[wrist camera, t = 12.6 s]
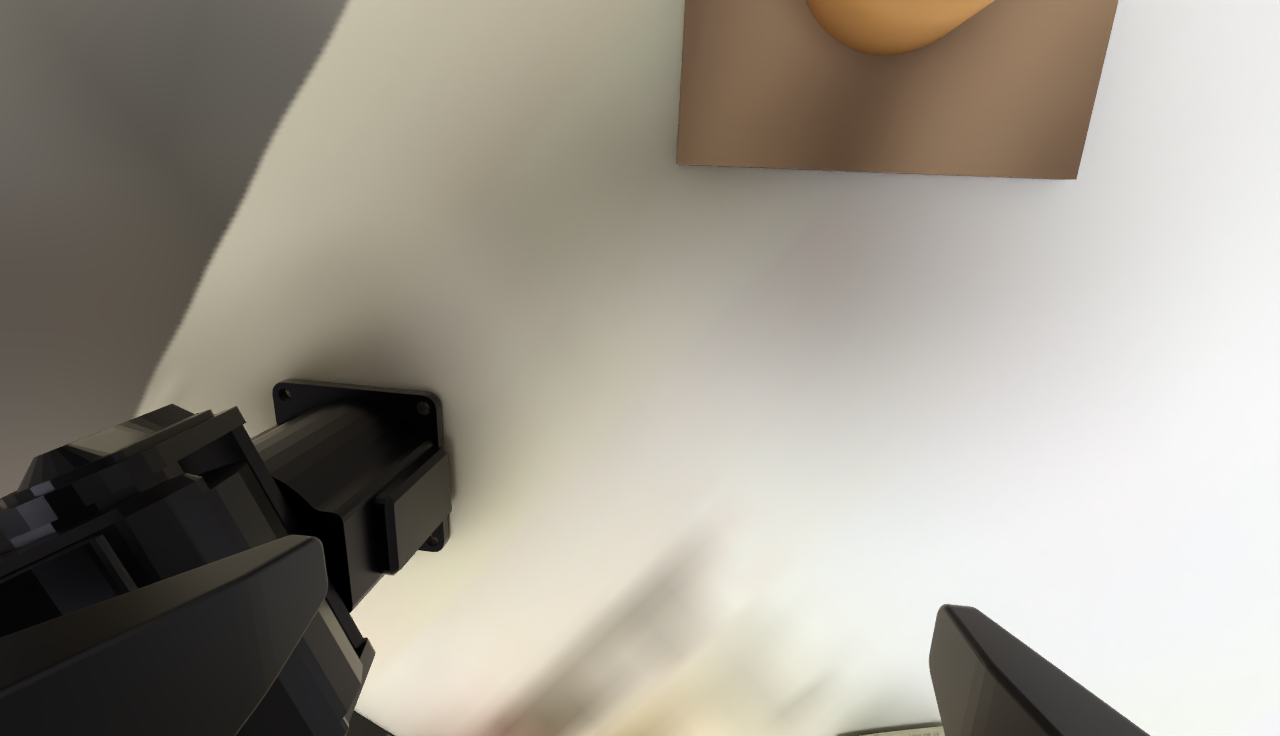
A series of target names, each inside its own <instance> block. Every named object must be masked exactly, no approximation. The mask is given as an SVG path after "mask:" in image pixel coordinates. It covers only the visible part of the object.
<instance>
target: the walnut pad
mask: <svg viewBox="0 0 1280 736" xmlns="http://www.w3.org/2000/svg"><path fill="white" fill-rule="evenodd" d="M1117 4H1118V0H995V1H993V2H992V3H990V4H989V5H987V6H986V7H985V8H983V9H982V10H980V11H979V12H977V13H976V14H975V15H973V16H972V17H970V18H969V19H968V20H966V21H965V22H963V23H962V24H960V25H959V26H958V27H956V28H955V29H953V30H952V31H950V32H949V33H948V34H946V35H945V36H943V37H941V38H940V39H938V40H937V41H935V42H933V43H931V44H929V45H927V46H925V47H923V48H920V49H917V50H914V51H911V52H907V53H902V54H897V55H874V54H868V53H864V52H859V51H857V50H854V49H852V48H849V47H847V46H845V45H844V44H842V43H840V42H838V41H837V40H836V39H834V38H833V37H832V36H831V35H829V34H828V33H827V32H826V31H825V30H824V28H823V27H822V26H821V25H820V24H819V23H818V21H817V20H816V18H815V17H814V15H813V14H812V12H811V10H810V8H809V6H808V4H807V1H806V0H685V16H684V34H683V52H682V70H681V89H680V107H679V125H678V144H677V162H676V164H679V165H703V166H729V167H754V168H780V169H805V170H831V171H856V172H882V173H907V174H932V175H958V176H983V177H1009V178H1034V179H1076V178H1077V174H1078V169H1079V165H1080V161H1081V157H1082V152H1083V148H1084V144H1085V140H1086V136H1087V131H1088V127H1089V123H1090V119H1091V114H1092V110H1093V106H1094V102H1095V97H1096V93H1097V89H1098V85H1099V80H1100V76H1101V72H1102V68H1103V63H1104V59H1105V55H1106V51H1107V46H1108V42H1109V38H1110V34H1111V30H1112V25H1113V21H1114V17H1115V13H1116V8H1117Z"/></svg>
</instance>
